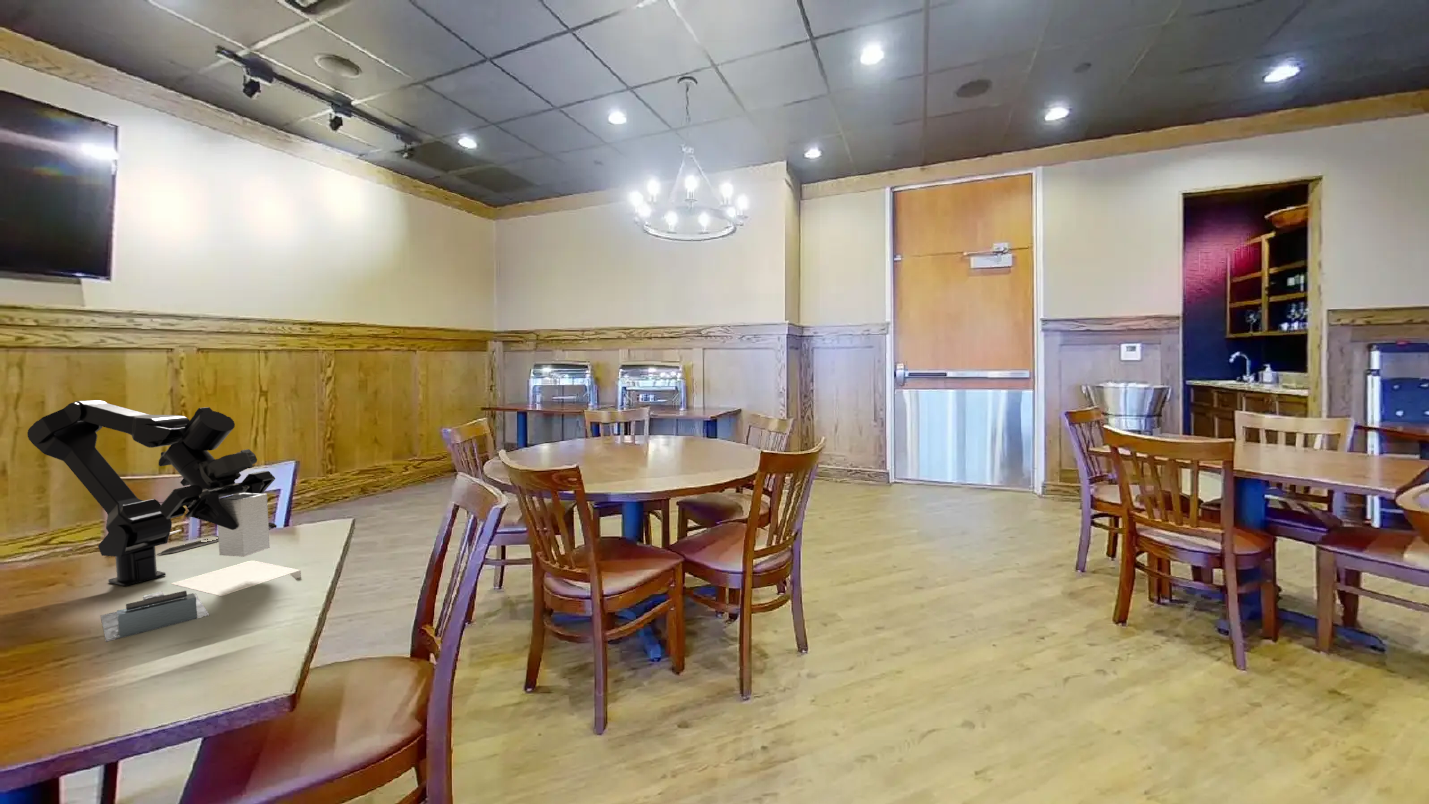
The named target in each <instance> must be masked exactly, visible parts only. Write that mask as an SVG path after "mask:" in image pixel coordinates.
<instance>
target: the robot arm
mask: <svg viewBox="0 0 1429 804" xmlns="http://www.w3.org/2000/svg"><path fill="white" fill-rule="evenodd" d="M235 424H236V423H235V421H234V419H232V418H231V416H227V414H224V413H222V412H219V411H217V410H216V411H214V410H213V409H212V408H211V407H209V406H207V407H198V408H197V410H196V411H195V413H194V414H193V416H192V417H191V418H190V419H189V418H188V417H186V416H184V415H178V414H176V415H175V414H148V413H145V412H141V411H137V410H134V409H129V408H126V407H123V406H118V405H115V404H110V403H109V402H106V401H104V400H99V399H93V400H76V401H73V402H70V403H69V404H67V405H66V406H65V407H64V408H61V409H59V410H57V411H54V412H52V413H50V414H47V415H45V416H43V417H41V418H40V419H38V420H36V421H34V423H32V425H31V426H30V427H29V428H28V429H27V438H28V440H29V441H30V442H31V444H32V445H33V446H35V448H36V449H38V450H39V451H40V452H41V453H43V454H44V455H45V456H49V457H51V458H53V459H56V460H59V461H62V462H63V463H64V464H65V465H66V466H67V468H69V470H71V472H72V473H73V474H74V476H75V477H76V478H77V479H78V480H79V481H80V483H81V484H82V485H83V487H85V489H86V490H87V491H88V492H89V493H90V495H91V496H92V497H93V498H94V500H96V502H97V503H98V505H99V506H100V507H102V509H103V510H104V511H105V512H106V513H107V519H106V523H105V524H106V526H105V529H106V531H107V532H108V533H107V534H106V535H105V537H104V538H103V539H102V540H101V542H100V543H99V544H98V546H97V547H98V549H99V552H100V554H101V556H104V557H115V567H116V568H115V569H116V570H115V571H116V577H112V578H109V579H108V583H110V584H115V585H119V586H122V587H127V586H130V585H131V586H132V585H135V584H139V583H143V582H146V581H150V580H153V579H157V578H161V577H165V576H166V575H167V574H166V572H164V571H161V570H157V559H156V558H157V554H156V546H160V545H166V544H168V541H169V537H170V535H169V534H170V532H171V529H172V526H173V525H172V524H173V522H172V519H174V518H179V517H182V516H184V515H185V517H186V518H189V519H190V518H193V519H198V520H201V521H203V522H208V523H211V524H214V525H217V526H218V525H220V526H222V527H225V528H228V529H231V530H234V529H236V528H237V524H236V523H235V521H234V520H233V518H232V517H231V516H230V515H229V514H228V512H227V511H226V510H225V509H224V508H223V506H222V505H221V504H220V501H219V498H223V497H227V496H232V495H236V494H240V493H261V494H264V492H265V491H267V489H268V488H269V487H270V486H271V484H272V483H273V482H274V481H275V480H276V478H275V476H274V475H273V474H272V473H271V472H270V471H269V470H263V471H256V472H252V473H248V475H246V477H245V478H244V479H243V480H242V481H241V482H236V480H239V478H241V476H242V474H241V473H242V472H243V471H245V470H247V469H252V468H253V467H254V466H253V465H255V464H256V463H257V462H258V459H257V456H256V454H255V453H254V452H253V451H252V450H251V449H248V448H247V449H242V450H241V449H240V451H238V452H236V453H231V454H226V455H224V456H221V457H219V458H214V456H213V455H212V454H211V453H210V451H213V450H216V449H218V448H219V446H220V445H221V444H222V443H223V442H224V440H225V439H226V438H227V436H229V434H230V433H231V432H232V431H233V430H234V429H235V426H236V425H235ZM102 428H106V429H110V430H114V431H117V432H121V433H125V434H128V435H130V436H131V437H132V440H133V441H134V442H136V443H138V444H140V445H142V446H145V447H147V448H153V449H154V448H161V447H166V446H169V447H168V448H167V449H166V451H162V452H160V457H159V459H158V466H159V467H164V466H172V467H173V468H174V469H175V470H176V471H177V473H178V474H179V475H180V476H181V477H182V478H183V479H181V481H180V482H179V483H180V484H181V485H182V486H183V487H179V488H174V489H173V490H172V491H171V493H169V495H168V496H167V497H166V498H165V499H164V501H163V502H162V503H160V502H159V501H158V500H157V499H155V498H152V499H147V500H142V499H139V498H138V497H137V496H136V494H135V493H134V492H133V491H132V489H130V487H129V486H128V485H127V483H126V482H125V481H124V480H123V479H122V478H121V476H120V475H119V474H118V473H117V472H116V471H115V469H114V468H113V466H111V465H110V464H109V462H108V461H107V459H106V458H105V457H104V456H103V455H102V454H101V452H100V451H99V450H98V448H96V446H97V440H98V434H97V432H98V431H99V432H100V430H101V429H102ZM186 508H187V509H186ZM186 510H188V511H187V512H186ZM185 512H186V513H185Z"/></svg>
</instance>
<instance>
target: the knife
mask: <svg viewBox="0 0 1429 804" xmlns="http://www.w3.org/2000/svg"><path fill="white" fill-rule="evenodd" d="M268 525H269V528H272V527H275V528H277V526H278V525H277V524H275V523H273V522H268ZM272 529H273V528H272ZM215 537H218V535H216V536H215ZM206 539H207V540H208V538H205V539H203V540H206ZM201 540H202V539H200V540H197V541H191V542H188V543H184V544H185V545H184V544H181V545H177V546H173V547H169V548H167V549H164V550H162V551H161V552H159V553H157V554H156V556H160V555H167V554H173V553H178V552H181V551H186V550H190V549H193V548H197V547H201V546H205V545H209V544H213V543H217V542H219V538H218V539H216V540H212V541H207V542H201Z"/></svg>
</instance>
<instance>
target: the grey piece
mask: <svg viewBox="0 0 1429 804" xmlns="http://www.w3.org/2000/svg"><path fill="white" fill-rule="evenodd" d="M187 593H188V592H187V590H182V591H179V592H178V591H177V592H174V593H170V594H165V593H164V592H163V590H161V591H157V592H153V593H149V594H143V595H142V600H138V601H134V602H133V601H132V602H130V603H125V608H123V609H118V610H116V611H113V612H109V613H105V614H101V615H100V620H101V625H102V630H103V635H104V640H105V642H106V643H108V642H111V641H114V640H119V639H124V638H127V637H131V636H135V635H139V634H143V633H147V632H151V631H154V630H158V629H162V628H166V627H170V626H175V625H177V624H182V623H186V622H189V621H193V620H197V619H202V618H205V617H209V616H210V614H209V612H208V610H207V609H206V607H205V606H204V605H203V602H202V601H201V600H200V598H199V596H198V595H197V593H188V594H187Z"/></svg>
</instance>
